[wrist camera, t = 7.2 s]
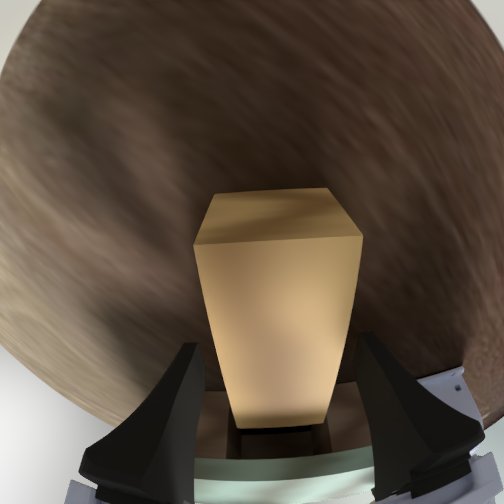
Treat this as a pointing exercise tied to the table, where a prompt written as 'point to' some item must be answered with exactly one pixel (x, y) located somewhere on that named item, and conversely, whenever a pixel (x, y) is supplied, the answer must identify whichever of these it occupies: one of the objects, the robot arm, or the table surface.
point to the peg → (278, 299)
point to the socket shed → (283, 456)
